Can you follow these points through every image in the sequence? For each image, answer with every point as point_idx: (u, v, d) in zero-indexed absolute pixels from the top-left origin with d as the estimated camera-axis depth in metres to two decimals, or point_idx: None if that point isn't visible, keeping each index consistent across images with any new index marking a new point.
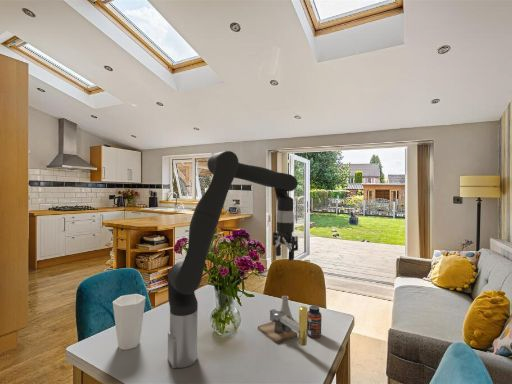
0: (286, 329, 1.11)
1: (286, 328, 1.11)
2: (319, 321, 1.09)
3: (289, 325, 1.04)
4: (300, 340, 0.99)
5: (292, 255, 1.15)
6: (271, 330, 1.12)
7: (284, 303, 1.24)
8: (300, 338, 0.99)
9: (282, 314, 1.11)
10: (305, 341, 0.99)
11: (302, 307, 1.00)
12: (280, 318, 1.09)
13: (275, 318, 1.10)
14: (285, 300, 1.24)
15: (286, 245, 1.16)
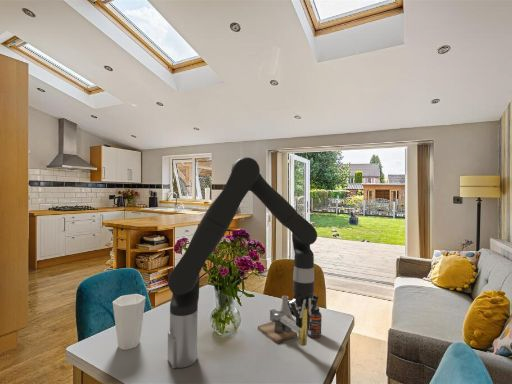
0: (286, 329, 1.11)
1: (286, 328, 1.11)
2: (319, 321, 1.09)
3: (289, 325, 1.04)
4: (300, 340, 0.99)
5: None
6: (271, 330, 1.12)
7: (284, 303, 1.24)
8: (300, 338, 0.99)
9: (282, 314, 1.11)
10: (305, 341, 0.99)
11: None
12: (280, 318, 1.09)
13: (275, 318, 1.10)
14: (285, 300, 1.24)
15: (310, 308, 0.99)
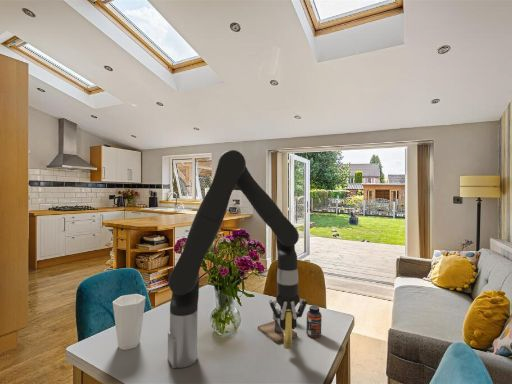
0: None
1: None
2: (319, 321, 1.09)
3: None
4: (284, 342, 0.97)
5: None
6: (271, 330, 1.12)
7: None
8: (284, 340, 0.97)
9: None
10: (288, 345, 0.96)
11: (288, 309, 0.98)
12: (277, 318, 1.09)
13: (273, 317, 1.10)
14: None
15: (293, 311, 0.96)
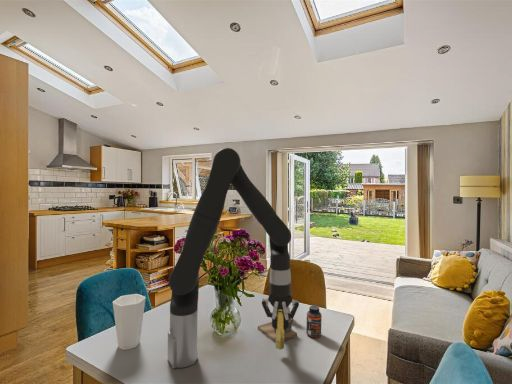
0: (286, 329, 1.11)
1: (286, 328, 1.11)
2: (319, 321, 1.09)
3: None
4: (276, 342, 0.97)
5: None
6: (271, 330, 1.12)
7: None
8: (276, 340, 0.97)
9: None
10: (279, 345, 0.96)
11: (280, 310, 0.98)
12: None
13: None
14: None
15: (285, 312, 0.96)
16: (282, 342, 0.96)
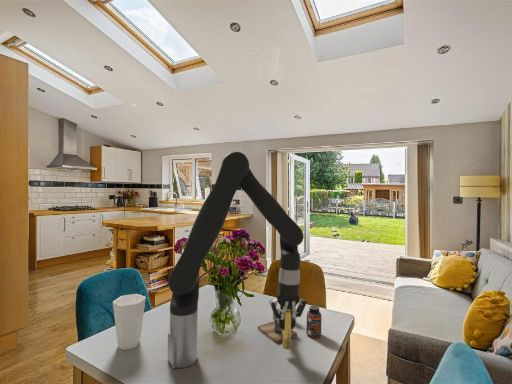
0: None
1: None
2: (319, 321, 1.09)
3: None
4: (283, 342, 0.97)
5: None
6: (271, 330, 1.12)
7: None
8: (283, 340, 0.97)
9: None
10: (287, 345, 0.96)
11: (287, 310, 0.98)
12: (277, 318, 1.09)
13: (273, 317, 1.11)
14: None
15: (294, 311, 0.97)
16: (289, 342, 0.97)
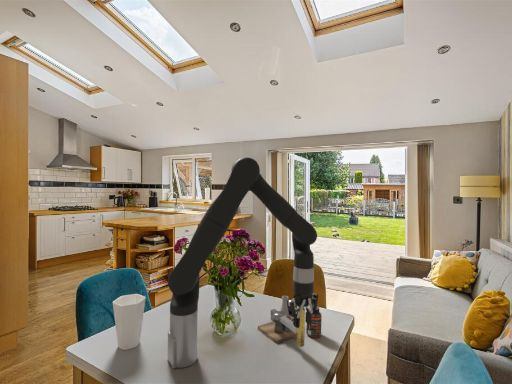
0: (286, 329, 1.11)
1: (286, 328, 1.11)
2: (319, 321, 1.09)
3: (287, 325, 1.04)
4: (297, 341, 0.98)
5: None
6: (271, 330, 1.12)
7: (284, 303, 1.24)
8: (297, 339, 0.98)
9: (282, 314, 1.11)
10: (302, 342, 0.98)
11: None
12: (279, 318, 1.09)
13: (275, 318, 1.10)
14: (285, 300, 1.24)
15: (310, 307, 1.00)
16: None
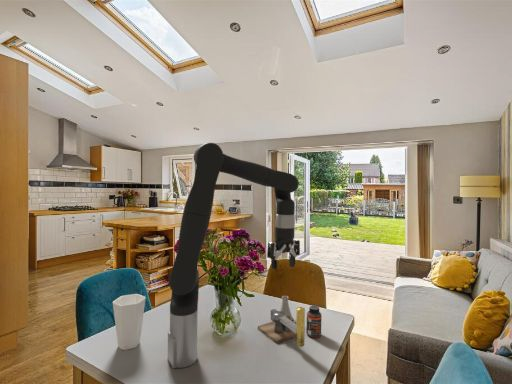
0: (286, 329, 1.11)
1: (286, 328, 1.11)
2: (319, 321, 1.09)
3: (287, 325, 1.04)
4: (297, 341, 0.98)
5: None
6: (271, 330, 1.12)
7: (284, 303, 1.24)
8: (297, 339, 0.98)
9: (282, 314, 1.11)
10: (302, 342, 0.98)
11: (300, 308, 1.00)
12: (279, 318, 1.09)
13: (275, 318, 1.10)
14: (285, 300, 1.24)
15: (293, 252, 1.06)
16: None
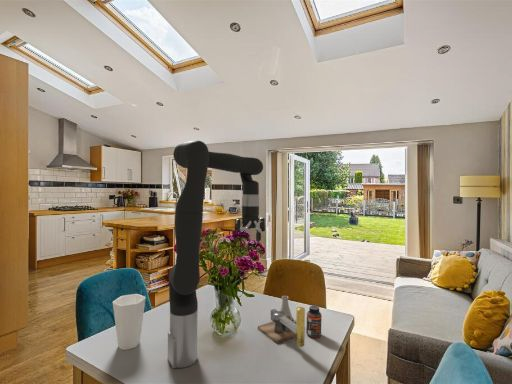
0: (286, 329, 1.11)
1: (286, 328, 1.11)
2: (319, 321, 1.09)
3: (287, 325, 1.04)
4: (297, 341, 0.98)
5: None
6: (271, 330, 1.12)
7: (284, 303, 1.24)
8: (297, 339, 0.98)
9: (282, 314, 1.11)
10: (302, 342, 0.98)
11: (300, 308, 1.00)
12: (279, 318, 1.09)
13: (275, 318, 1.10)
14: (285, 300, 1.24)
15: (258, 228, 1.19)
16: None
